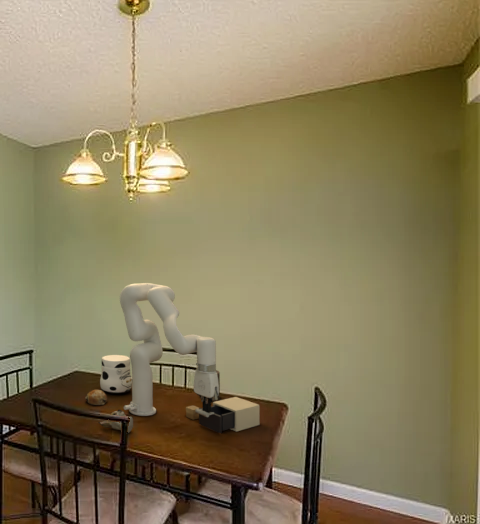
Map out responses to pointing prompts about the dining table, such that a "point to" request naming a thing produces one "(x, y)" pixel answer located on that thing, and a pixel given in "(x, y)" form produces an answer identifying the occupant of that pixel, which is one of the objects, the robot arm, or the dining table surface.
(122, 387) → the milk container
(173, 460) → the dining table surface
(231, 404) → the cabinet
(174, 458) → the dining table surface
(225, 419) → the drawer
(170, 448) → the dining table surface
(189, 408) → the block
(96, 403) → the bread roll
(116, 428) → the ceramic sculpture
